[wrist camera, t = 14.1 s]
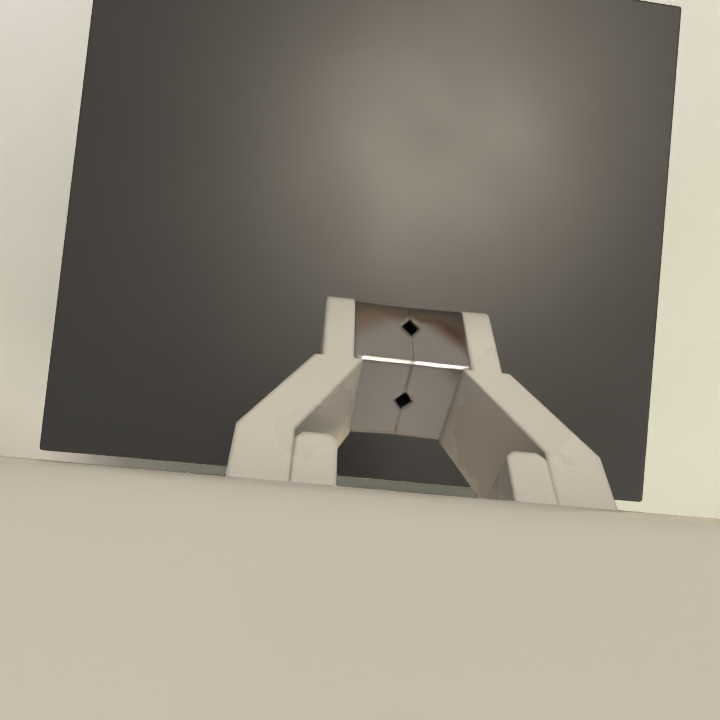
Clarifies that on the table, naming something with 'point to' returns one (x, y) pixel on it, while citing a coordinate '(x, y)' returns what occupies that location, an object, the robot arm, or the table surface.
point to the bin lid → (361, 211)
